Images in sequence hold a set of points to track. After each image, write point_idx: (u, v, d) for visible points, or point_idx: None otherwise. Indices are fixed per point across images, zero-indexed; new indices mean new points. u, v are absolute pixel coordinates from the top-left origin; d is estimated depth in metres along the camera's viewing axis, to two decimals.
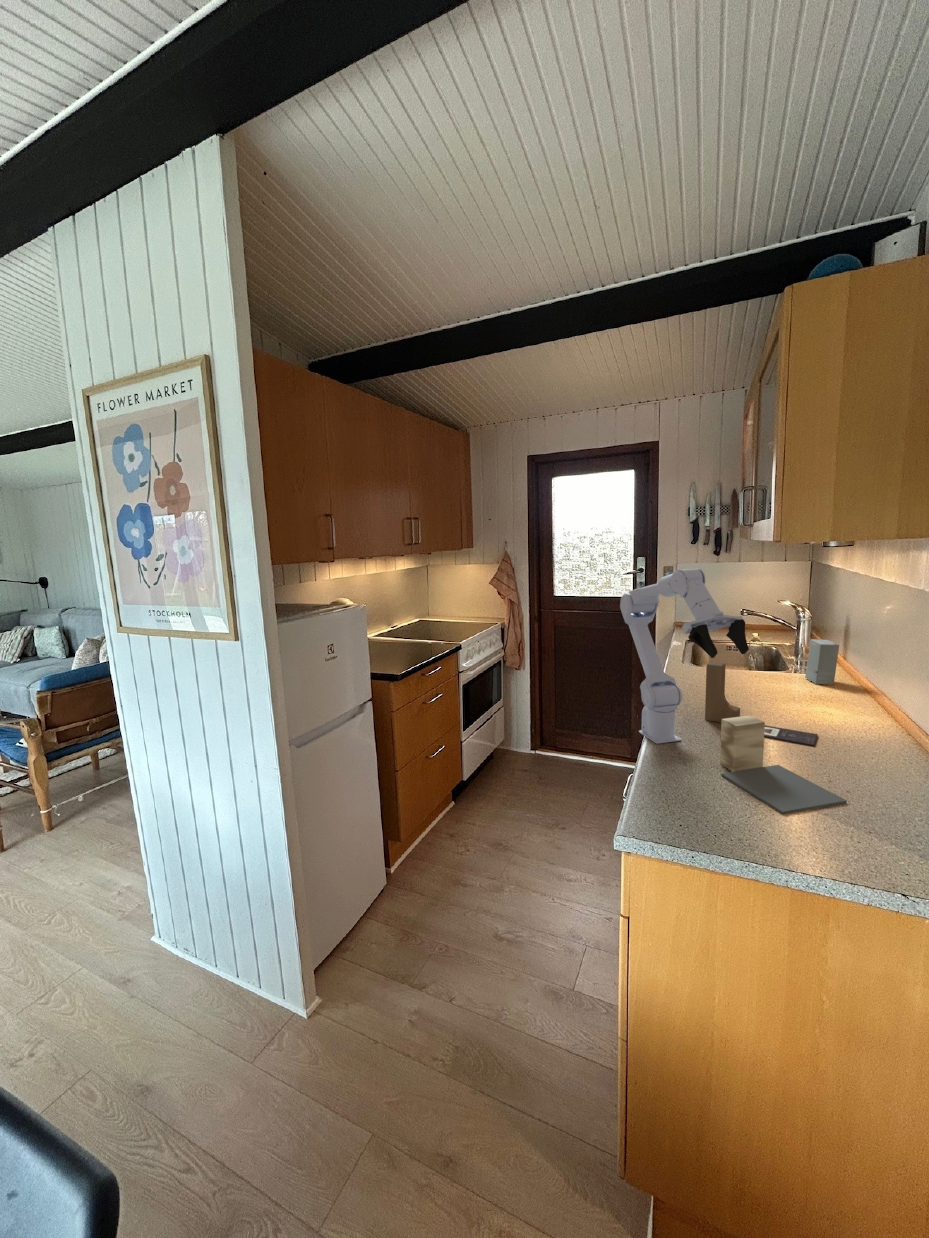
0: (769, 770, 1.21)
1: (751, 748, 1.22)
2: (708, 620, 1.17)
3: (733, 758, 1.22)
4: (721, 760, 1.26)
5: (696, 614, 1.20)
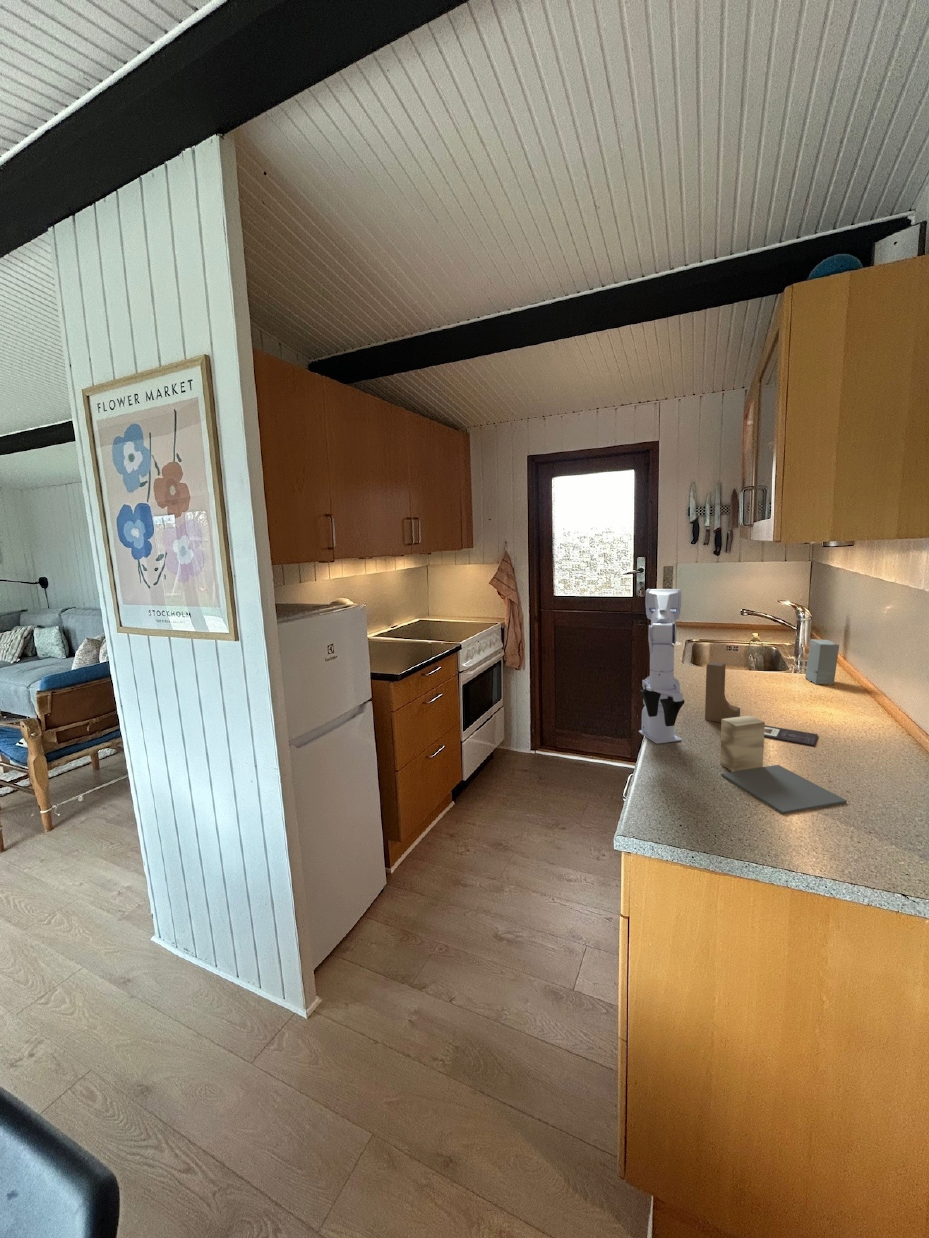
0: (769, 770, 1.21)
1: (751, 748, 1.22)
2: None
3: (733, 758, 1.22)
4: (721, 760, 1.26)
5: None
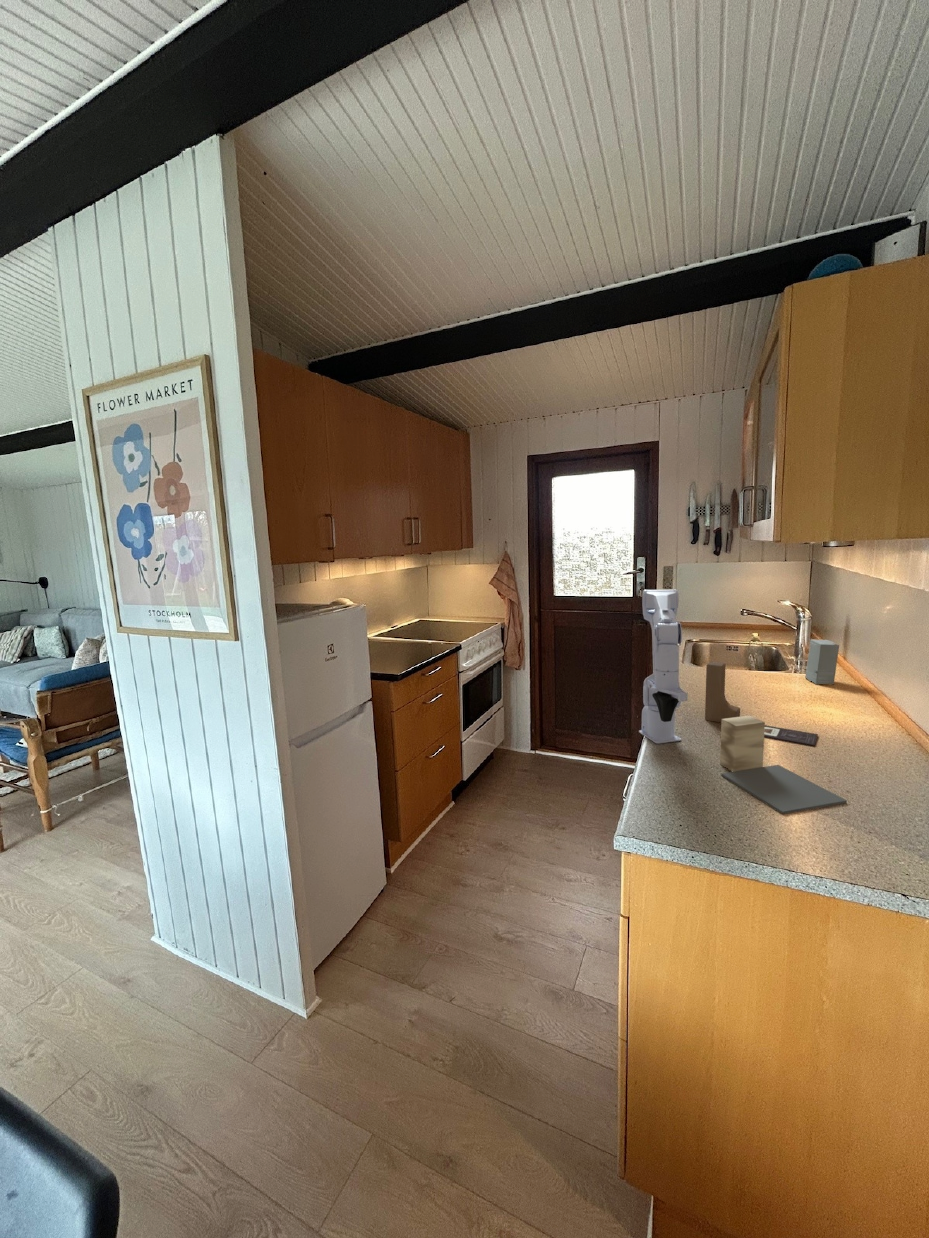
0: (769, 770, 1.21)
1: (751, 748, 1.22)
2: None
3: (733, 758, 1.22)
4: (721, 760, 1.26)
5: None
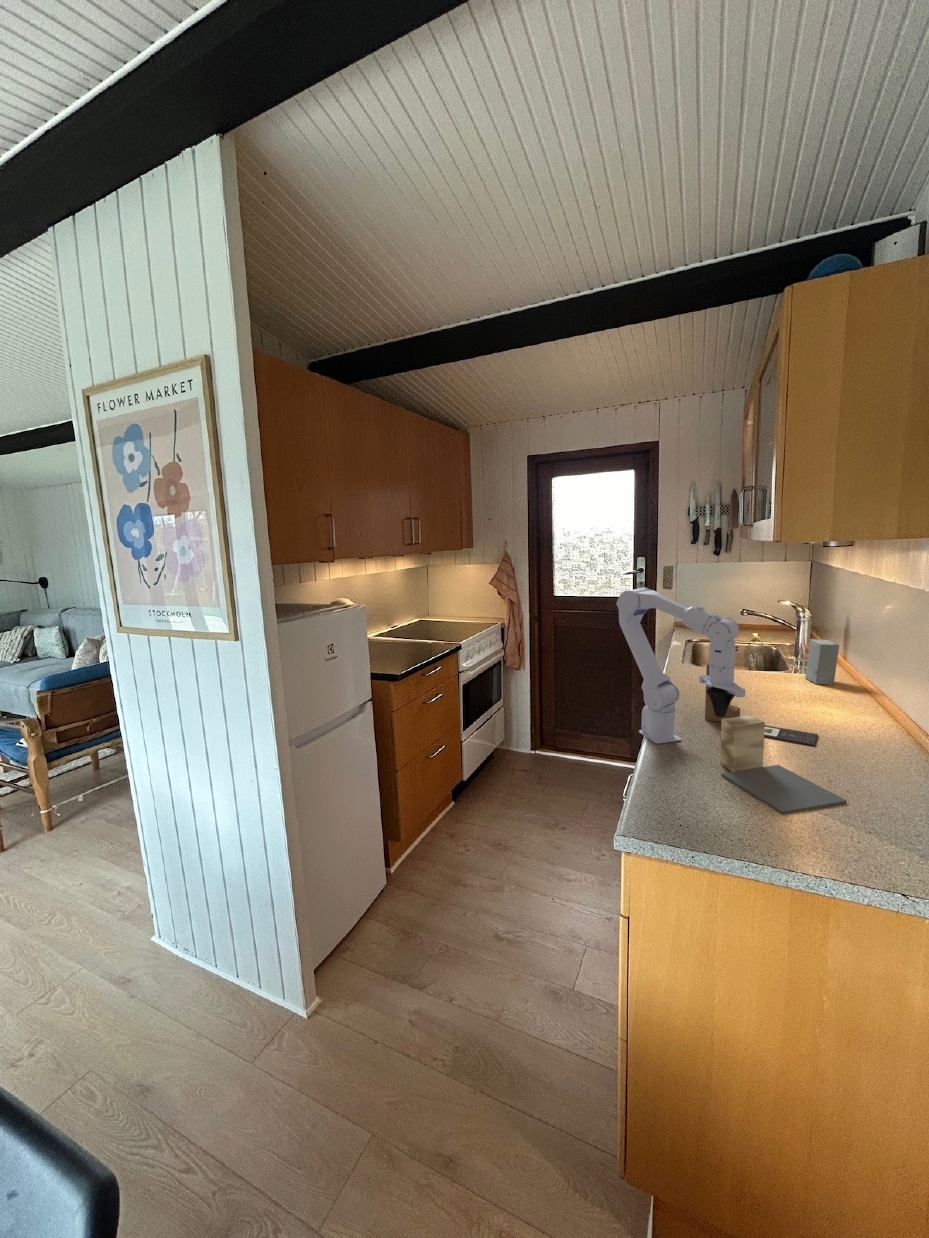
0: (769, 770, 1.21)
1: (751, 748, 1.22)
2: None
3: (733, 758, 1.22)
4: (721, 760, 1.26)
5: None
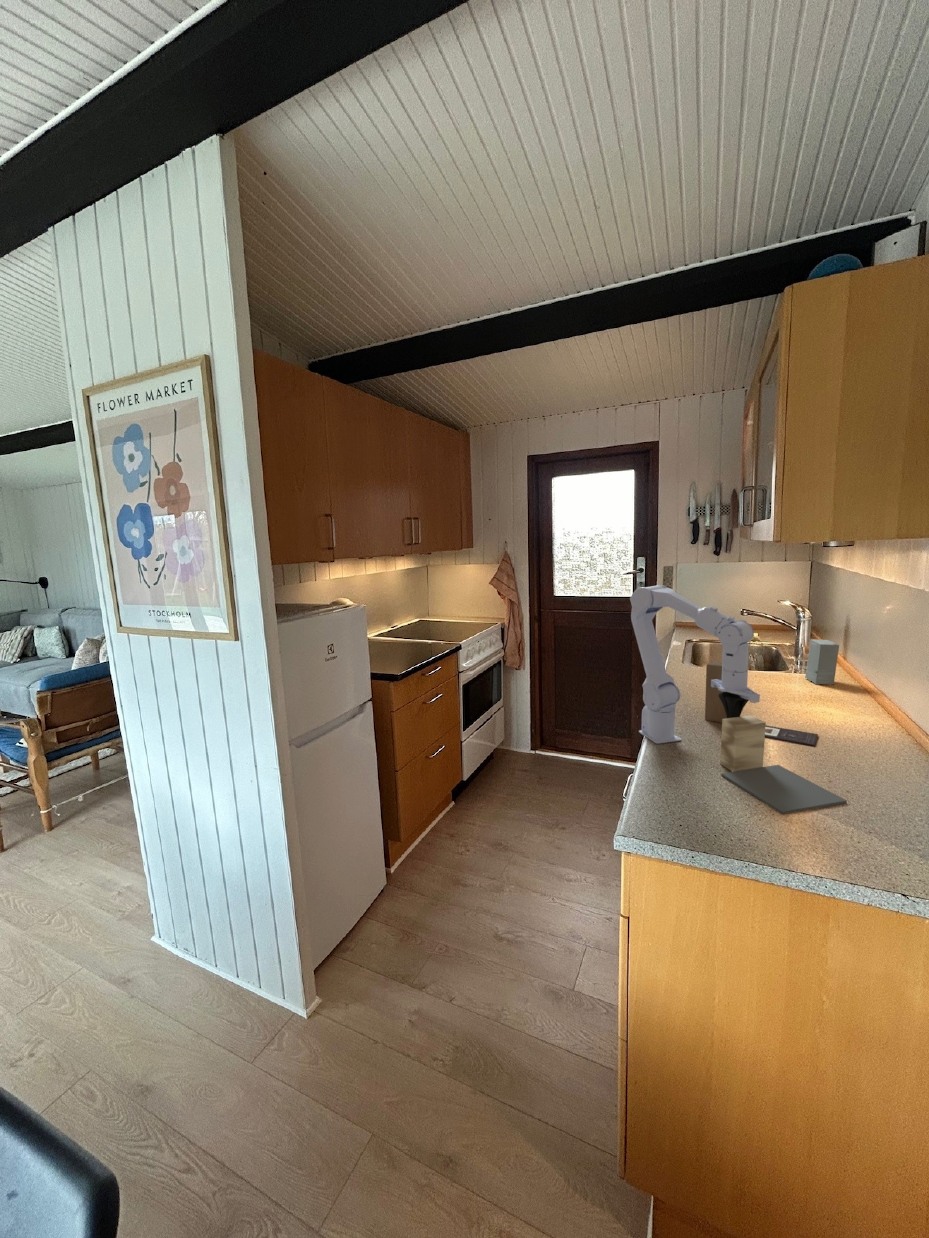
0: (769, 770, 1.21)
1: (752, 748, 1.22)
2: None
3: (733, 758, 1.22)
4: (721, 760, 1.26)
5: None
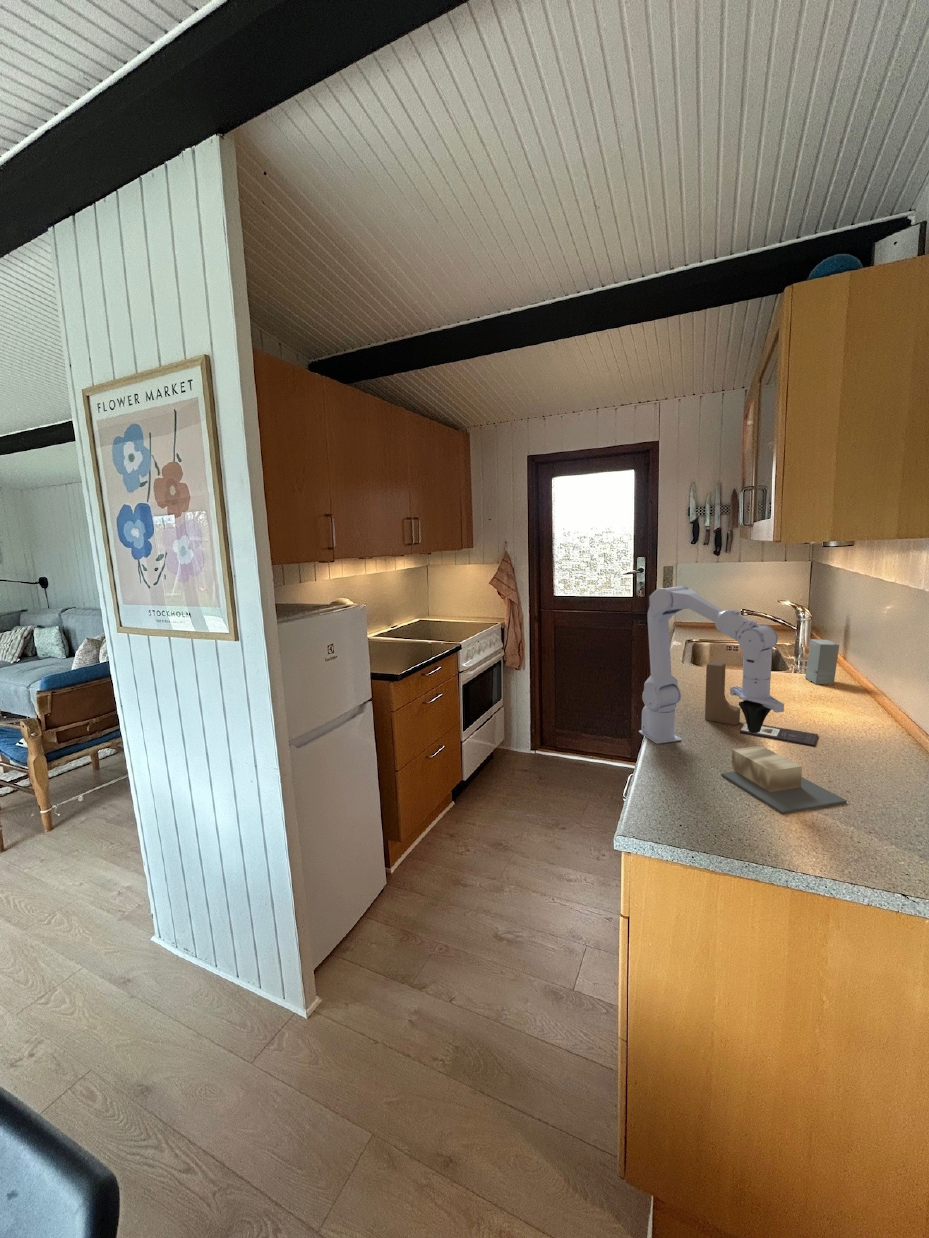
0: None
1: None
2: None
3: (742, 773, 1.19)
4: (735, 753, 1.21)
5: None
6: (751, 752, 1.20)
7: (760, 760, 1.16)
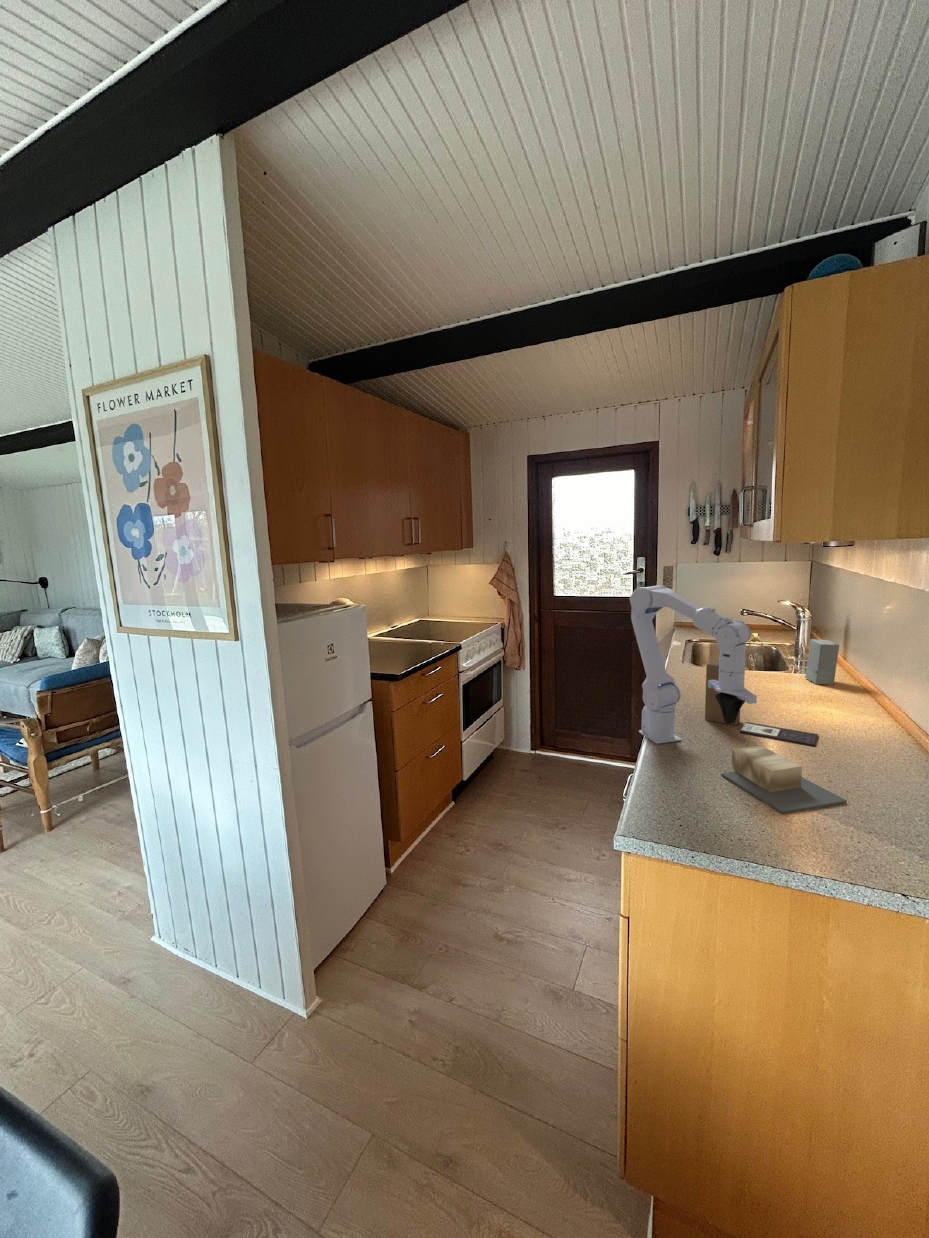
0: None
1: None
2: None
3: (742, 773, 1.19)
4: (735, 753, 1.21)
5: None
6: (751, 752, 1.20)
7: (760, 760, 1.16)
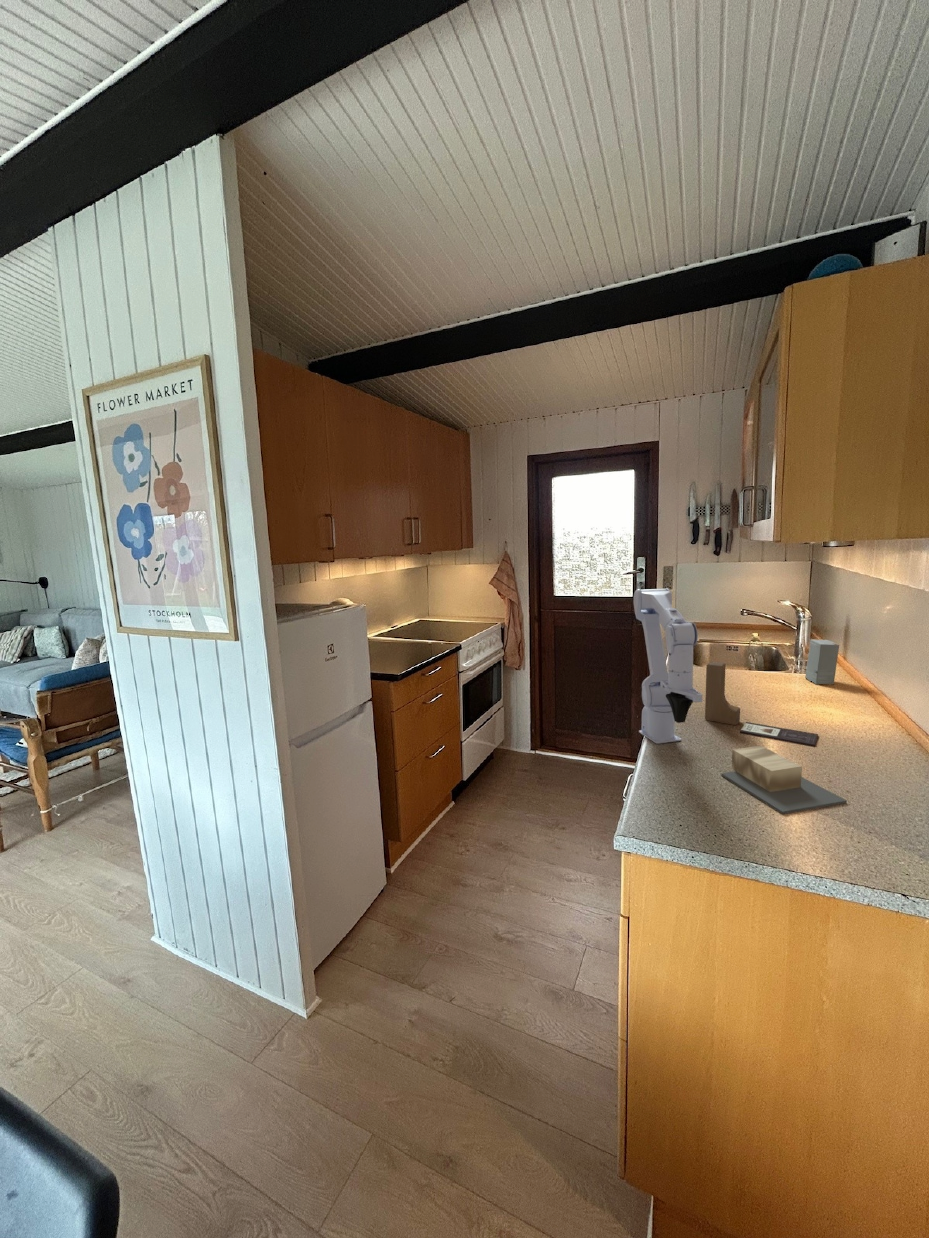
0: None
1: None
2: None
3: (742, 773, 1.19)
4: (735, 753, 1.21)
5: None
6: (751, 752, 1.20)
7: (760, 760, 1.16)
